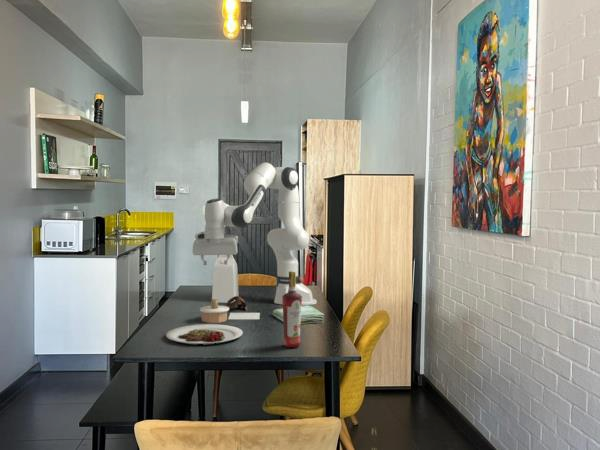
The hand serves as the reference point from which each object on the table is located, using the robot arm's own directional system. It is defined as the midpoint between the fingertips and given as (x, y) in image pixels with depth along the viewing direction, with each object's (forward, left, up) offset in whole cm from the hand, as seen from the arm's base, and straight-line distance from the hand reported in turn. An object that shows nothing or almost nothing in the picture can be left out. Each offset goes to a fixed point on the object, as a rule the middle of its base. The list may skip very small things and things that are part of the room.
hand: (215, 264), depth 257 cm
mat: (-13, -1, -25) cm, 28 cm away
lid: (0, +7, -20) cm, 21 cm away
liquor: (-33, +50, -25) cm, 65 cm away
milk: (-1, -43, -25) cm, 50 cm away
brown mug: (-9, -17, -25) cm, 31 cm away
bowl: (0, +7, -25) cm, 25 cm away
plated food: (+1, +35, -25) cm, 43 cm away
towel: (-38, +4, -25) cm, 46 cm away
